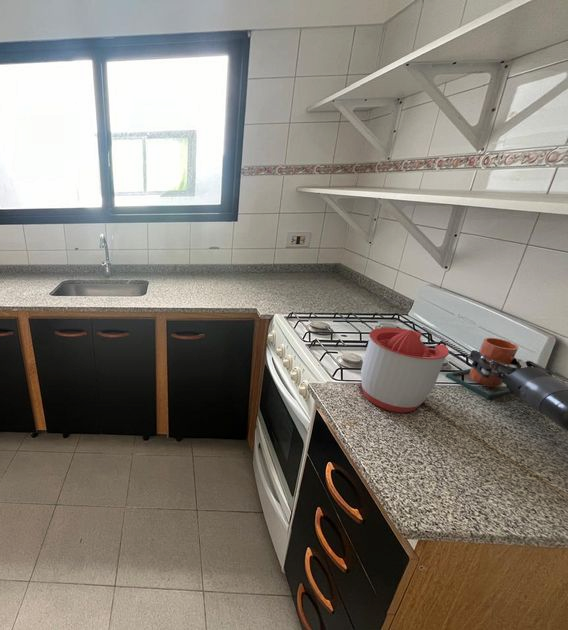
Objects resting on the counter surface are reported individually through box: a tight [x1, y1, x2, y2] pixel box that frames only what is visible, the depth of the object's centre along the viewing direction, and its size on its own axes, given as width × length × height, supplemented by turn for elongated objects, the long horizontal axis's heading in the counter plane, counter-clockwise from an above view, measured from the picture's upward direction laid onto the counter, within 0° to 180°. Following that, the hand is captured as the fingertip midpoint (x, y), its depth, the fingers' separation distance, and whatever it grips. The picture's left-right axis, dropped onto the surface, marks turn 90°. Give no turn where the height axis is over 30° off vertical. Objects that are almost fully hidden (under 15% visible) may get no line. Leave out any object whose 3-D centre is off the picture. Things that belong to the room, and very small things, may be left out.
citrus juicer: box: [360, 327, 450, 414], centre depth 85 cm, size 16×17×20 cm
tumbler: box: [468, 337, 519, 388], centre depth 90 cm, size 6×6×11 cm
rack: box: [445, 368, 513, 400], centre depth 92 cm, size 12×10×2 cm
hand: (487, 354), depth 91 cm, fingers closed on tumbler, 6 cm apart
